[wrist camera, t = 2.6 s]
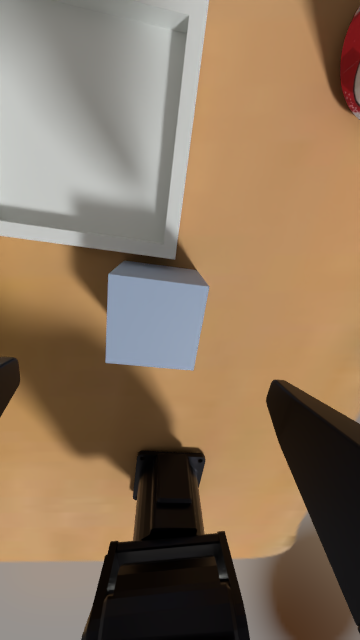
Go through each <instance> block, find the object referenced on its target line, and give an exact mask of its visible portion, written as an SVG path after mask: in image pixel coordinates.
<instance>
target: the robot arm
mask: <svg viewBox="0 0 360 640" xmlns="http://www.w3.org/2000/svg"><path fill="white" fill-rule="evenodd" d="M19 383H20V373H19V364H18V360H17V359H16V358H14V357H0V417H1V415H2V413H3V412H4V410H5V408H6V407H7V405H8V403H9V401H10V400H11V398H12V396H13V394H14V393H15V391H16V389H17V388H18V386H19ZM266 403H267V407H268V410H269V413H270V416H271V420H272V423H273V426H274V429H275V432H276V436H277V438H278V441H279V444H280V446H281V449H282V451H283V454H284V456H285V458H286V461H287V463H288V465H289V468H290V470H291V473H292V475H293V477H294V480H295V482H296V484H297V487H298V489H299V491H300V494H301V496H302V498H303V501H304V503H305V505H306V508H307V510H308V513H309V514H310V517H311V519H312V522H313V524H314V526H315V529H316V531H317V534H318V536H319V538H320V541H321V543H322V545H323V547H324V550H325V552H326V554H327V557H328V560H329V562H330V564H331V567H332V569H333V571H334V574H335V576H336V578H337V581H338V583H339V585H340V588H341V590H342V592H343V595H344V597H345V600H346V602H347V604H348V607H349V609H350V611H351V614H352V616H353V618H354V621H355V623H356V625H357V626H358V631H359V633H360V424H359V423H357V422H355V421H354V420H352V419H350V418H348V417H347V416H345V415H343V414H342V413H340V412H338V411H336V410H335V409H333V408H331V407H330V406H328V405H326V404H324V403H323V402H321V401H319V400H317V399H316V398H314V397H312V396H311V395H309V394H307V393H305V392H304V391H302V390H300V389H299V388H297V387H295V386H293V385H292V384H290V383H288V382H287V381H284V380H273V381H272V383H271V385H270V388H269V391H268V394H267V398H266ZM142 456H143V457H142ZM204 464H205V456H204V454H201V453H181V452H159V451H140V452H139V453H138V454H137V463H136V473H135V482H134V492H133V499H134V500H137V505H136V515H135V526H134V536H133V541H128V542H118V541H111V542H110V546H109V550H108V554H107V555H106V556H105V559H104V564H103V567H102V571H101V575H100V579H99V583H98V587H97V591H96V595H95V599H94V603H93V606H92V609H91V612H90V615H89V618H88V621H87V624H86V626H85V629H84V632H83V635H82V639H81V640H250V638H249V631H248V625H247V619H246V614H245V610H244V604H243V600H242V596H241V592H240V588H239V584H238V581H237V577H236V573H235V569H234V565H233V562H232V558H231V554H230V550H229V546H228V542H227V539H226V535H225V531H219V532H217V533H215V534H204V527H203V519H202V512H201V504H200V497H199V489H198V488H199V484H200V480H201V476H202V472H203V468H204Z"/></svg>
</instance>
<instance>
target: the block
mask: <svg viewBox="0 0 360 640" xmlns="http://www.w3.org/2000/svg"><path fill="white" fill-rule="evenodd" d="M208 291H209V286H208V284H207V283H206V282H205V280H204V279H203V278H202V276H201V275H200V274H199V272H198V271H197V270H193V269H185V268H178V267H170V266H163V265H155V264H148V263H140V262H133V261H125V260H124V261H123V262H122V263H121V264H119V265H118V266H117V267H116V268H115V269H114V270H112V271H111V272H110V273H109V274H108V301H107V332H106V363H112V364H124V365H136V366H147V367H159V368H170V369H182V370H194V365H195V359H196V354H197V349H198V344H199V338H200V333H201V328H202V323H203V317H204V312H205V307H206V301H207V296H208Z"/></svg>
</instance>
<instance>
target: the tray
mask: <svg viewBox="0 0 360 640" xmlns="http://www.w3.org/2000/svg"><path fill="white" fill-rule="evenodd" d="M208 4H209V0H0V236H7V237H14V238H22V239H29V240H36V241H44V242H51V243H58V244H66V245H73V246H80V247H87V248H95V249H102V250H109V251H117V252H124V253H131V254H139V255H146V256H153V257H161V258H168V259H175V256H176V248H177V241H178V233H179V225H180V218H181V210H182V202H183V195H184V187H185V179H186V172H187V164H188V157H189V149H190V141H191V134H192V126H193V118H194V111H195V103H196V95H197V88H198V80H199V72H200V65H201V57H202V49H203V42H204V34H205V27H206V19H207V11H208Z"/></svg>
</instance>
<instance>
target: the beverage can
mask: <svg viewBox="0 0 360 640" xmlns="http://www.w3.org/2000/svg"><path fill="white" fill-rule="evenodd" d="M340 78H341V87H342V91H343V95H344V98H345V100H346V102H347V105H348V107H349V108H350V110H351V111H352V113H353V114H354V115H355V116H356V117H357V118H358V119H359V120H360V6H359V8H358V10H357V11H356V13H355V15H354V17H353V19H352V21H351V23H350V26H349V28H348V31H347V34H346V37H345V40H344V45H343V49H342V55H341V63H340Z"/></svg>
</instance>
